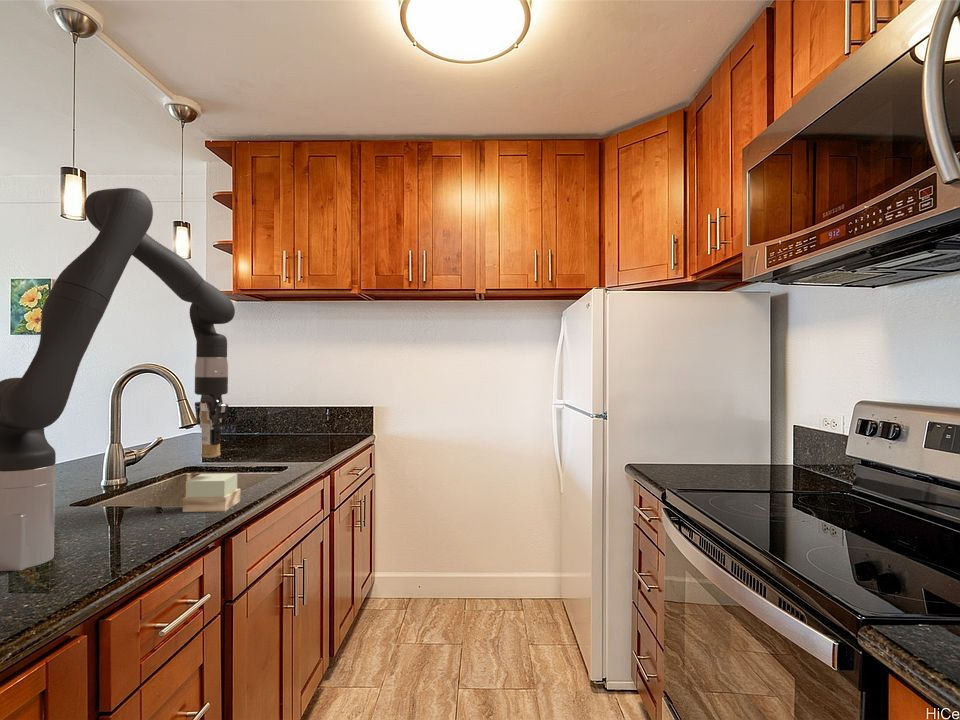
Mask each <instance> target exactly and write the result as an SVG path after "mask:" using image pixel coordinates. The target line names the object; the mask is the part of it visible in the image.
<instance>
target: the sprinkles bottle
mask: <svg viewBox="0 0 960 720" xmlns="http://www.w3.org/2000/svg"><path fill="white" fill-rule="evenodd" d="M201 411H202V423H201V428H200V431H201V432H200V433H201V435H200V436H201V438H200V439H201V441H200V442H201V454H200V456H201V457H202V458H209V459H210V458H217V457H219V456H221V455H222V454H221V443H220V444H218V445H211V444H210V430H211V429H210V422H209V421H208V420H207V414H206V411H207V410H206V409H205V403H202V404H201ZM211 416H212V415H211ZM212 417H215V415H213V416H212Z"/></svg>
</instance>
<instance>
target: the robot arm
mask: <svg viewBox="0 0 960 720" xmlns="http://www.w3.org/2000/svg"><path fill="white" fill-rule="evenodd" d="M84 213H85V216H86V219H87V220H88V221H89V222H90V224H91V225H92V226H93V227H94V228H95V229H96V230H97V231H99V233H98V234H97V236H96V237H95V239H94V240H93V241H92V243H90V245H89V246H88V247H87V248H86V249H85V250H84V251H82V253H80V254H79V255H78V256H77V257H76V258H74V260H71V262H70V263H69V264H68V265H67V266H65V268H64V269H63V270H62V271H61V273H60V274H59V275H58V276H57V278H56V280H55V281H54V283H53V285H52V287H51V289H50V291H49V293H48V295H47V297H46V299H45V301H44V303H43V306H42V308H41V309H42V310H41V316H40V317H41V318H40V336H39V337H40V338H39V344H38V347H37V350H36V352H35V354H34V356H33V358H32V360H31V362H30V364H29V366H28V367H27V369H26V370H25V372H24V374H23V375H22V377H10V378H5V379H2V380H0V572H12V571H13V572H14V571H16V572H18V571H23V570H25V569H28V568H31V567H36V566H39V565H42V564H45V563H47V562H50V561H52V559H54V557H55V524H56V523H55V519H56V516H55V515H56V513H55V512H56V511H55V509H56V504H55V503H56V498H55V497H56V460H57V459H56V458H57V457H56V455H57V454H56V450H55V448H54V447H53V446H51V444H50V443H49V442H48V440H47V438H46V435H45V428H48V427H49V426H51V425H52V424H54V423H55V422H56V421H57V420H58V419H59V418H60V417H61V415H62V414H63V412H64V411H65V409H66V406H67V403H68V400H69V398H70V395H71V391H72V388H73V385H74V382H75V379H76V375H77V374H78V371H79V368H80V365H81V362H82V360H83V358H84V355H85V354H86V351H87V350H88V348H89V345H90V343H91V341H92V339H93V336H94V334H95V332H96V330H97V328H98V326H99V324H100V322H101V321H102V318H103V316H104V314H105V313H106V310H107V308H108V305H109V304H110V301H111V299H112V296H113V293H114V291H115V289H116V287H117V286H118V283H119V281H120V279H121V278H122V276H123V273H124V271H125V269H126V267H127V265H128V263H129V261H130V259H131V257H134V258H135V259H136V260H138V261H139V262H140V263H141V264H143V266H146V268H148V269H149V270H150V271H151V272H152V273H153V274H154V275H156V276H157V277H158V278H159V279H160V280H161V281H162V282H163V283H164V284H165V285H166V286H167V287H168V288H169V289H170V290H171V291H172V292H173V293H174V294H175V295H176V296H177V297H178V298H180V300H182V301H184V302H187V303H191V304H190V307H189V319H190V323H191V327H192V330H193V333H194V337H195V341H196V345H195V346H196V347H195V350H196V352H195V353H196V354H195V355H196V356H195V357H196V358H195V363H194V394H195V395H197V396H200V401H195V402H194V409H195V410H194V411H195V417H196V425H197V426H199V427H200V429H201V423H202V411H201V404H202V403H205V409H206V410H207V411H206V414H207V420H208V421H209V422H210V429H211V430H210V444H211V445H218V444H220V445H221V431H222V429H223V428H225V427H226V426H227V425H226V424H227V419H228V418H227V417H228V413H229V404H228V403H223V398H222V397H223V395H227V394H228V393H229V386H228V384H229V363H228V339H227V337H226V336H225V335H224V334H221V333H218V332H216V331H217V330H216V328H215V325H224V324H229V323H230V322H231V321H233V320H234V317H235V313H236V309H235V306H234V304H233V301H232V300H231V299H230V297H229V296H228V295H227V294H225V292H222V291H221V290H220V289H218V288H217V287H215V286H214V285H213V284H211V283H210V282H208V281H206V280H205V279H203V277H202V276H201V274H199V272H198V271H197V270H196V269H195V268H194V267H193V266H192V265H191V264H190V262H188V261H187V260H186V259H184V258H183V257H182V256H180V255H179V254H177V253H176V252H174V251H173V250H171V249H169V248H168V247H166V246H164V245H163V244H162V243H160V242H158V241H157V240H156V239H154V238H153V237H151V236H150V235H149V234H148V233H147V232H148V230H149V229H150V227H151V224H152V223H153V222H152V221H153V216H154V208H153V204H152V202H151V200H150V198H149V196H148V195H146V193H145V192H143V191H141V190H139V189H137V188H131V187H119V188H118V187H117V188H107V189H106V188H105V189H100V190H96V191H94V192H91V193H90V194H88V196H87V197H86V199H85V201H84ZM211 415H212V416H213V415H215V417H212V416H211Z"/></svg>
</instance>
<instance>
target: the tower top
mask: <svg viewBox="0 0 960 720" xmlns="http://www.w3.org/2000/svg"><path fill="white" fill-rule="evenodd" d="M236 489H238V473H200V474H198V475H196V476H194V477H191V478H190V479H188V480H186V481H185V497H186V498H213V497H226V496H227V495H229V494H230V493H232V492H233V491H235V490H236Z"/></svg>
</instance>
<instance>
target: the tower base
mask: <svg viewBox="0 0 960 720" xmlns="http://www.w3.org/2000/svg"><path fill="white" fill-rule="evenodd" d="M241 492H242V491H241V488H237V489H236V490H235V491H233V492H232V493H230V494H229V495H227V496H226V497H213V498H186V496H184V497H182V513H194V512H195V513H201V512H227V511H228V510H230V509H231V508H232V507H234V506H235V505H236V504H238V503H240V502H241Z"/></svg>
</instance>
